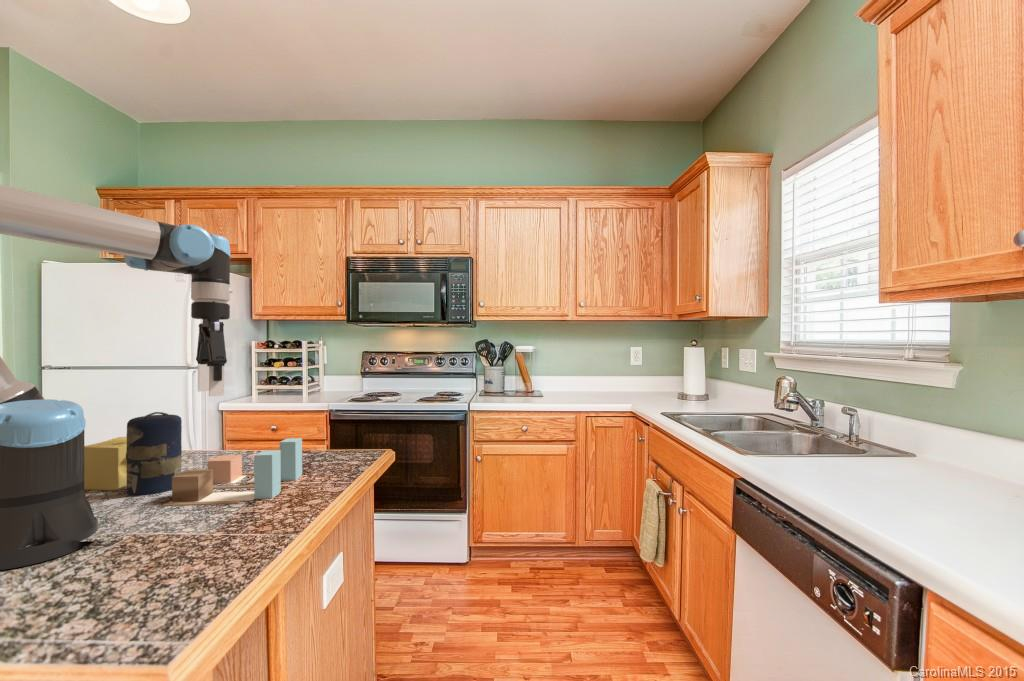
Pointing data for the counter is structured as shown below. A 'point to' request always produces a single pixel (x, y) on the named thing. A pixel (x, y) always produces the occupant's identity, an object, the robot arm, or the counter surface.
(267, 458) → the multicoloured block
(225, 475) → the block clay
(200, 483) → the block walnut
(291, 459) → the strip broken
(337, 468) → the counter surface
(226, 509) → the counter surface
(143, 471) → the canister
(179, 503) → the lane frame
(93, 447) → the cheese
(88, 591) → the counter surface
